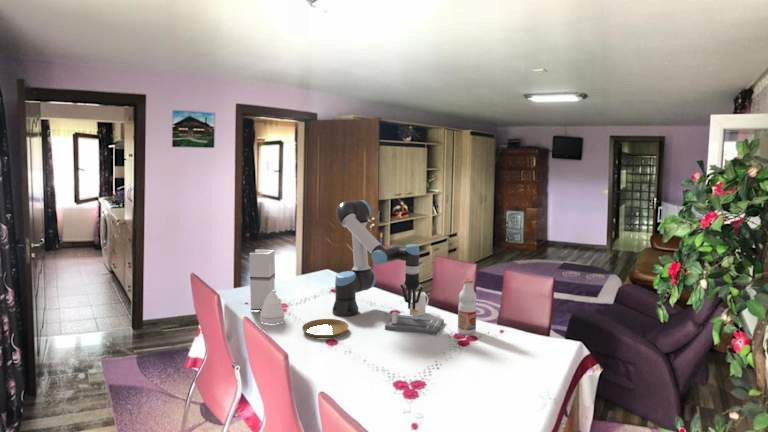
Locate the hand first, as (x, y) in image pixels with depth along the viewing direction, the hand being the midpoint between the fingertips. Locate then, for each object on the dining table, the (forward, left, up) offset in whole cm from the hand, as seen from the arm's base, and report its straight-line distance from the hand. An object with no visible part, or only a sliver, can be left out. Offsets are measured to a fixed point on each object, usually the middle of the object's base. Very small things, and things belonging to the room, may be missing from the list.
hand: (411, 314), depth 290 cm
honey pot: (-74, -21, -5) cm, 77 cm away
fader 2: (+2, 0, -2) cm, 3 cm away
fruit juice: (+31, -5, -5) cm, 32 cm away
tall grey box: (-89, -5, -5) cm, 89 cm away
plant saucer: (-39, -28, -5) cm, 49 cm away
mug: (+1, +18, -5) cm, 19 cm away
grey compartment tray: (+3, -5, -5) cm, 7 cm away
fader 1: (-7, -10, -2) cm, 12 cm away
